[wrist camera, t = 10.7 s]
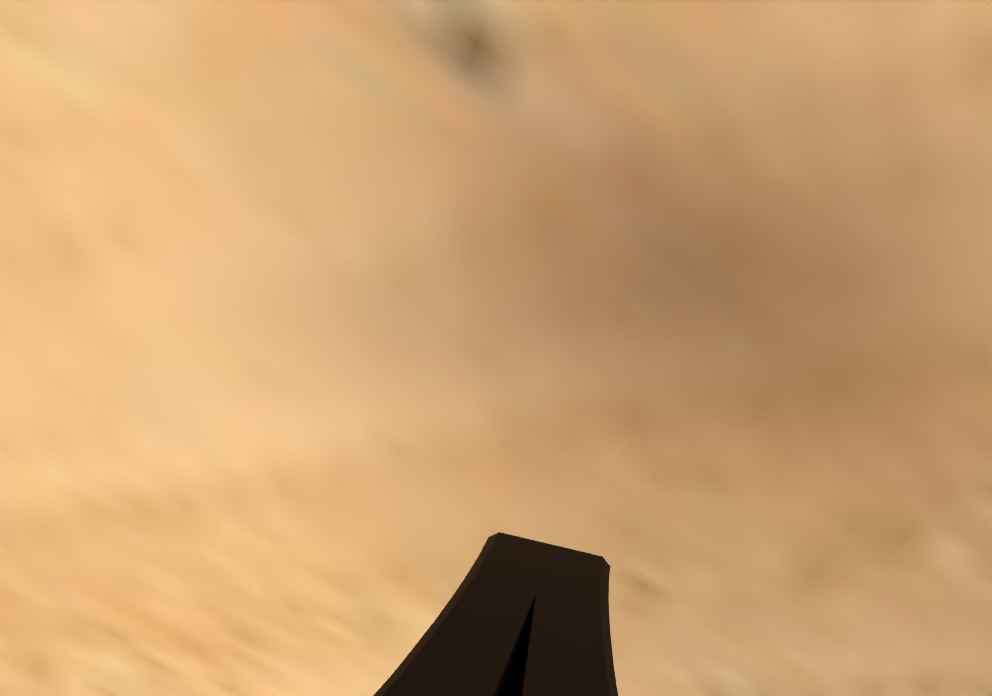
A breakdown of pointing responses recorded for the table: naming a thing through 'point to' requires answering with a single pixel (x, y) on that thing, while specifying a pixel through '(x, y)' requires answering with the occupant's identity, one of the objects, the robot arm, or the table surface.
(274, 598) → the table surface
